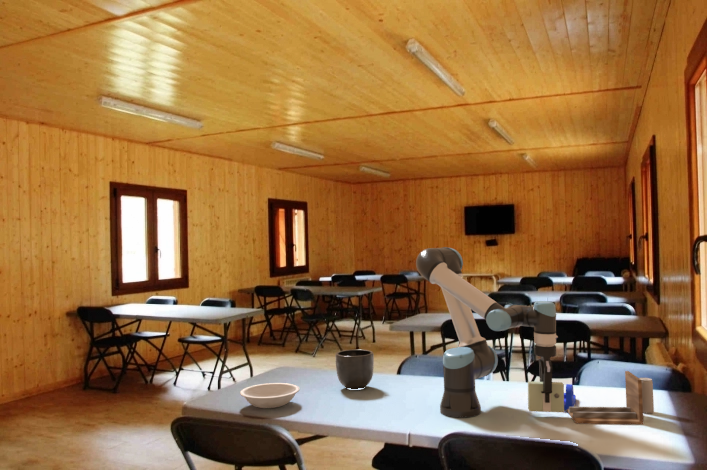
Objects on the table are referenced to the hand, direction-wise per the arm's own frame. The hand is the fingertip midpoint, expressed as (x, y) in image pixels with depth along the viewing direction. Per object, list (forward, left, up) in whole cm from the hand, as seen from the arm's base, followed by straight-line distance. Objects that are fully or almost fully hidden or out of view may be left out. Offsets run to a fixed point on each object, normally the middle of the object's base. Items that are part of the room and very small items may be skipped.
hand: (545, 409), depth 207 cm
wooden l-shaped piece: (+20, 0, -3) cm, 20 cm away
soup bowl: (-106, +10, -3) cm, 107 cm away
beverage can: (+36, +7, -3) cm, 37 cm away
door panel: (0, 0, 0) cm, 0 cm away
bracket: (+9, +18, -3) cm, 20 cm away
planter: (-76, +39, -3) cm, 85 cm away
